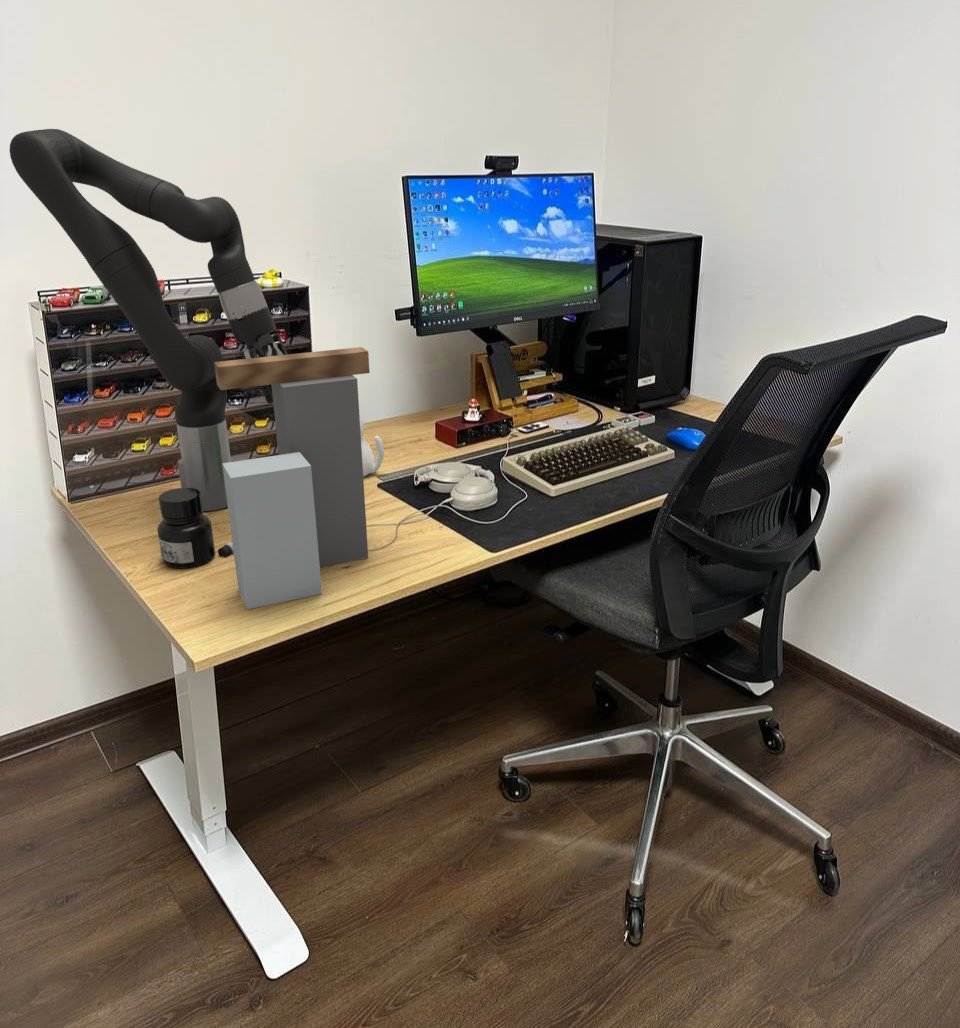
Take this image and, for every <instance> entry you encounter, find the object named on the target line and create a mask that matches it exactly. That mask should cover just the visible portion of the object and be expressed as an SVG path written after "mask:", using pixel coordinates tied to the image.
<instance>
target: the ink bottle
mask: <svg viewBox="0 0 960 1028" xmlns="http://www.w3.org/2000/svg"><path fill="white" fill-rule="evenodd" d="M158 502H159V503H158V504H159V508H160V514H161V518H162V520H161V521H160V522H159V523H158V525H157V537H158V544H159V545H158V546H159V549H160V556H161V559H162V562H163V564H164V565H167V566H169V567H172V568H176V569H177V568H178V569H188V568H194V567H197V566H200V565H203V564H206V563H208V562H209V561H211V560H212V559H213V558H214V557H215V556H216V555H215V554H216V550H215V542H214V534H213V528H212V522H211V520H210V518H209V517H208V516H206V515H204V514H203V512H204V511H203V509H202V508H203V507H202V500H201V493H200V491H199V490H197V489H194V488H181V487H176V488H173V489H169V490H166V491H163V492H162V493H161V494H159V496H158Z"/></svg>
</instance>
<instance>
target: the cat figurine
mask: <svg viewBox="0 0 960 1028" xmlns="http://www.w3.org/2000/svg"><path fill="white" fill-rule="evenodd" d="M359 416H360V432H361V448H362V464H363V478H365V477H366V476H368V475H369V474H373V473H376V472H378V470H380V467H381V465H382V464H383V460H384V455H385V450H384V449H385V447H384V443H383V440H382V439H381V437H380V436H379V435H375V436H374V442H375V446H376V453H377V454H376V457H375V455H374V452H373V450H372V447H371V446H370V445H369V443H368V442H367V441H366V440H365V439H364V438H362V437H363V436H364V433H365V424H364V420H363V418H362V416H361V414H359Z"/></svg>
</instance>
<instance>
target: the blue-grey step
mask: <svg viewBox="0 0 960 1028" xmlns="http://www.w3.org/2000/svg"><path fill="white" fill-rule="evenodd" d="M222 465H223V473H224V481H225V488H226V496H227V504H228V507H227V509H228V511H227V512H228V518H229V526H230V533H231V541H232V543H233V551H234V553H233V556H234V565H235V573H236V581H237V588H238V593H239V594H240V596H241V599H242V602H243V603H244V606H245V609H246V610H252V609H256V608H262V607H265V606H271V605H275V604H280V603H285V602H290V601H294V600H298V599H305V598H308V597H309V598H310V597H313V596H318V595H322V594H323V589H322V577H321V567H320V564H319V552H318V541H317V529H316V518H315V506H314V495H313V483H312V471H311V465H310V464H309V463H308V462H307V460H306V459H305V458H304V457H303V456H302V454H301V453H300V452H296V453H290V454H283V455H278V454H277V455H272V456H264V457H257V458H256V457H255V458H250V459H243V460H235V461H231V462H228V463H222Z"/></svg>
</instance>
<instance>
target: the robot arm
mask: <svg viewBox="0 0 960 1028" xmlns="http://www.w3.org/2000/svg"><path fill="white" fill-rule="evenodd" d="M9 157H10V160H11V163H12V165H13V168H14V169H15V171H16V173H17V174H18V176H19V177H20V179H21V180H22V181H23V182H24V183H25V185H26V186H27V187H28V189H29V190H30V191H31V192H32V193H33V194H34V195H35V197H36V198H37V199H38V200H39V202H40V203H41V204H42V205H43V206H44V207H45V209H46V210H47V211H48V212H49V213H50V214H51V215H52V216H53V218H54V219H55V220H56V221H57V223H58V225H60V227H61V228H62V230H63V231H64V232H65V233H66V235H67V236H68V238H69V239H70V240H71V241H72V243H73V244H74V246H75V247H76V248H77V249H78V251H79V253H81V255H82V256H83V257H84V258H83V259H85V261H86V262H87V263H88V265H89V267H90V268H91V270H92V271H93V273H94V274H95V275H96V277H97V278H98V280H99V282H101V284H102V285H103V286H104V288H105V290H107V292H108V293H109V295H111V297H112V298H113V299H114V301H115V303H116V304H117V306H118V307H119V309H120V310H121V311H122V313H123V314H124V316H125V317H126V318H127V320H128V321H129V323H130V324H131V326H132V327H133V329H134V330H135V332H136V333H137V335H138V336H139V338H140V340H141V341H142V343H143V345H144V346H145V348H146V349H147V352H148V353H149V355H150V357H151V359H152V360H153V362H154V364H155V366H156V368H157V369H158V371H159V372H160V374H161V376H162V377H163V379H165V381H166V382H167V383H168V385H170V386H172V387H173V388H174V389H176V390H178V391H180V397H179V400H178V403H177V405H176V407H175V410H174V417H175V422H176V428H177V429H176V430H177V437H178V442H179V450H180V457H181V458H180V459H178V460H177V467H178V468H177V469H178V474H179V480H180V482H179V483H180V488H194V489H197V490H199V491H200V493H201V500H202V507H203V508H202V509H203V512H208V511H209V512H212V511H219V510H222V509H225V508H228V504H227V496H226V488H225V481H224V473H223V465H222V463H228V462H232V461H231V452H230V450H231V449H230V444H229V441H230V440H229V434H228V428H227V419H226V407H227V403H228V393H227V391H228V389H227V390H220V388H219V387H218V385H217V381H216V373H215V365H214V362H221V361H225V360H224V358H223V354H222V351H221V349H220V347H219V346H218V345H217V343H216V342H215V341H214V340H213V339H211V338H209V337H208V336H205V335H202V334H195V335H190V336H187V337H185V336H184V334H183V333H182V332H181V330H180V329H179V328H178V326H177V325H176V324H175V322H174V321H173V319H172V318H171V316H170V314H169V312H168V311H167V308H166V305H165V303H164V300H163V295H162V292H161V288H160V284H159V280H158V277H157V273H156V271H155V268H154V267H153V265H152V264H151V262H150V260H149V259H148V257H147V256H146V255H145V252H144V251H143V250H142V249H141V247H140V246H139V244H138V242H136V240H135V239H134V238H133V236H132V235H131V234H130V233H129V232H128V231H127V230H125V229H124V228H123V227H122V226H120V224H118V223H117V222H115V221H114V220H112V218H110V217H108V216H107V215H105V213H102V211H100V210H99V209H97V208H96V207H94V206H93V205H92V203H90V201H88V200H87V199H86V198H85V197H84V195H83V194H82V193H81V192H80V191H79V189H78V188H77V187H76V185H75V184H74V183H76V184H82V185H86V186H90V187H93V188H96V189H100V190H101V191H103V192H105V193H107V194H108V195H109V196H110V197H112V199H114V200H115V201H116V202H118V203H119V204H120V205H122V207H124V208H126V209H127V210H129V211H130V212H133V213H135V214H137V215H140V216H142V217H145V218H147V219H151V220H153V221H155V222H158V223H161V224H163V225H165V226H166V227H167V228H168V229H170V230H172V231H173V232H175V234H178V235H179V236H181V237H183V238H185V239H187V240H188V241H191V242H195V243H200V244H207V243H210V246H211V251H212V257H211V259H209V260H208V262H207V269H208V270H207V271H208V273H209V277H210V278H211V280H212V283H213V286H214V288H215V289H216V292H217V294H218V298H219V301H220V304H221V308H222V310H223V312H224V315H225V317H226V319H227V322H228V324H229V326H230V329H231V331H232V333H233V336H234V338H235V341H236V342H237V343H238V344H241V343H245V345H246V348H247V349H245V350H243V351H240V353H239V354H240V358H241V359H250V358H260V357H269V356H279V355H289V354H288V352H287V351H288V350H287V349H286V347H285V344H284V342H283V339H282V337H281V335H280V333H279V332H277V333H273V332H274V331H276V329H277V326H276V324H275V322H274V319H273V316H272V314H271V311H270V309H269V306H268V303H267V301H266V299H265V296H264V294H263V292H262V290H261V288H260V286H259V285H258V283H257V280H256V279H255V276H254V273H253V271H252V268H251V266H250V264H249V261H248V259H247V257H246V256H247V255H246V248H245V243H244V237H243V233H242V228H241V227H242V225H241V222H240V219H239V216H238V214H237V212H236V210H235V208H234V207H233V206H232V205H231V203H229V201H227V200H226V199H225V198H223V197H220V196H210V197H205V198H204V197H203V198H201V199H196V198H192V197H190V196H189V197H188V196H187V195H185V192H184V191H183V190H182V189H181V188H180V187H179V186H178V185H176V184H174V183H172V182H170V181H168V180H165V179H163V178H160V177H158V176H154V175H152V174H149V173H146V172H144V171H141V170H138V169H137V168H134V167H132V166H129V165H127V164H124V163H123V162H122V161H118V160H116V159H114V158H112V157H110V156H109V155H107V154H105V153H104V152H102V151H100V150H97V148H94V147H93V146H91V145H89V144H88V143H86V142H85V141H83V140H81V139H80V138H78V137H76V136H75V135H73V134H71V133H69V132H67V131H64V130H62V129H57V128H45V129H34V130H28V131H22V132H19V133H17V134H16V135H14V136H13V137H12V139H11V141H10V143H9ZM271 333H273V334H271ZM260 389H261V391H262V393H263V396H264V398H265V401H266V403H267V404H270V405H271V404H273V395H272V386H271V384H270V385H262V386H260Z"/></svg>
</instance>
